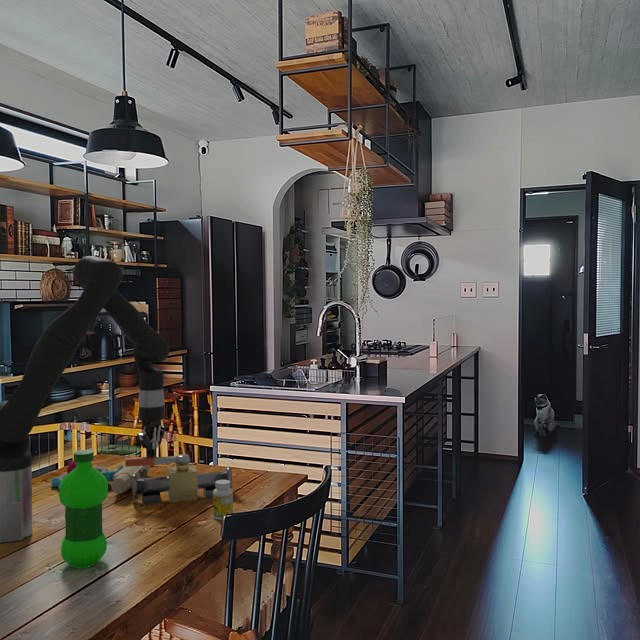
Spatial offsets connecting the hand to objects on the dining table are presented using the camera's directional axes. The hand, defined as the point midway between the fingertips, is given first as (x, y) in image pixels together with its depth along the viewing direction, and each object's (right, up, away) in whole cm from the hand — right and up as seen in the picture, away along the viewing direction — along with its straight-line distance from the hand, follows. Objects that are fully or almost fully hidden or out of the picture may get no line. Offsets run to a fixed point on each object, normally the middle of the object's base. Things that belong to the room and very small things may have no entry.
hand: (152, 460), depth 185 cm
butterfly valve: (-18, -10, +7) cm, 22 cm away
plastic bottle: (-2, -12, -49) cm, 50 cm away
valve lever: (+3, 0, -6) cm, 7 cm away
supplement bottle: (+25, -11, -19) cm, 33 cm away
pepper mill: (-10, -11, -31) cm, 34 cm away
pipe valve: (+10, -10, -4) cm, 15 cm away
